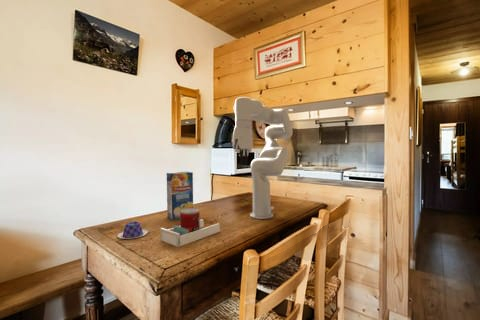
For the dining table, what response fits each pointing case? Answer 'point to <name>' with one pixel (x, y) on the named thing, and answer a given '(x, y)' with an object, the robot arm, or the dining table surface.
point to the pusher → (180, 230)
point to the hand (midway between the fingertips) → (243, 164)
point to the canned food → (190, 219)
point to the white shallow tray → (188, 234)
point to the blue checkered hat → (132, 231)
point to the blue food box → (179, 193)
